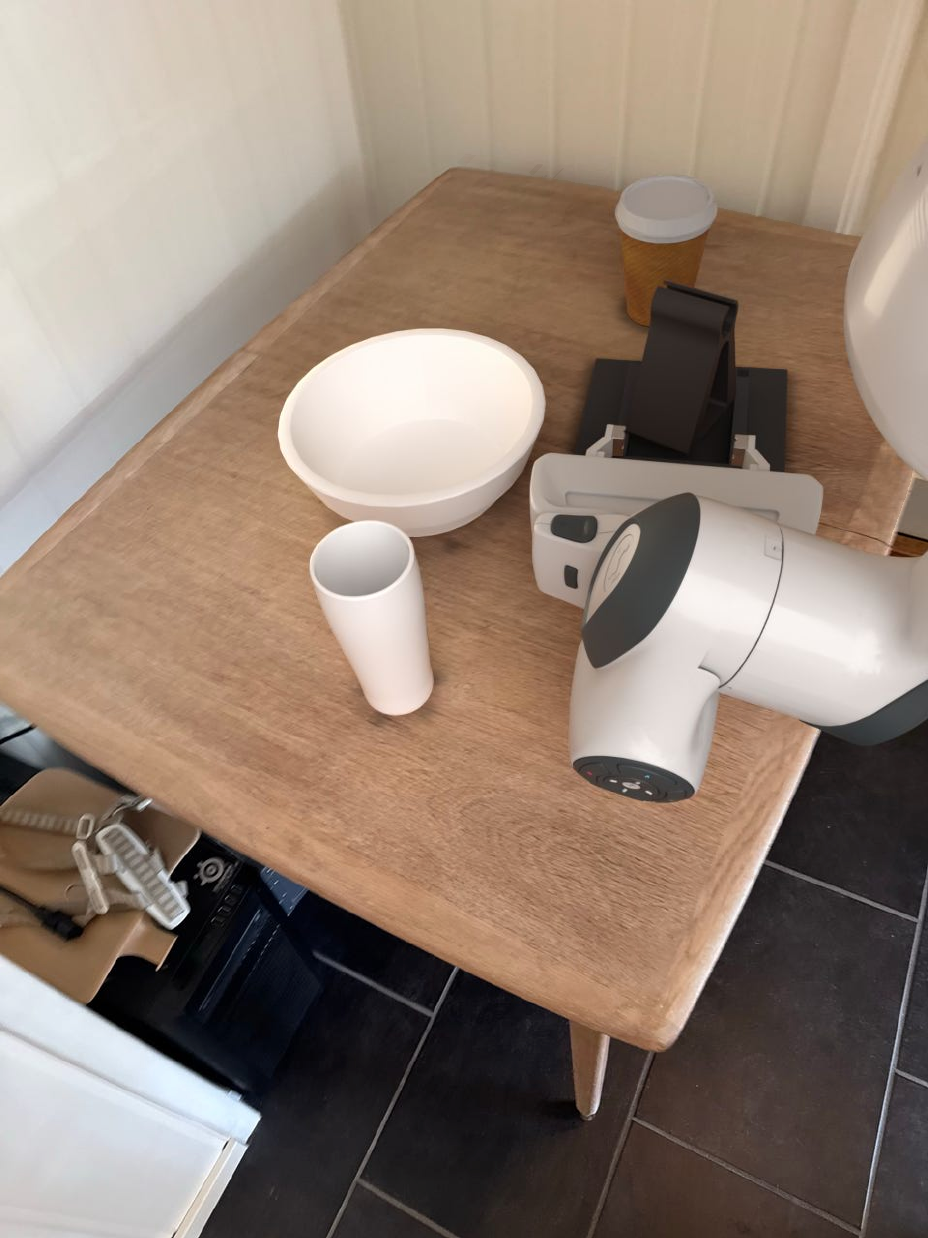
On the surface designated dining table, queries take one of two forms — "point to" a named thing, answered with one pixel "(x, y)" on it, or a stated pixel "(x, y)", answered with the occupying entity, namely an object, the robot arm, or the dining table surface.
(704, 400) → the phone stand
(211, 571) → the dining table surface
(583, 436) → the dock pad
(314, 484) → the bowl
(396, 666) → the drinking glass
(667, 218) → the disposable coffee cup
